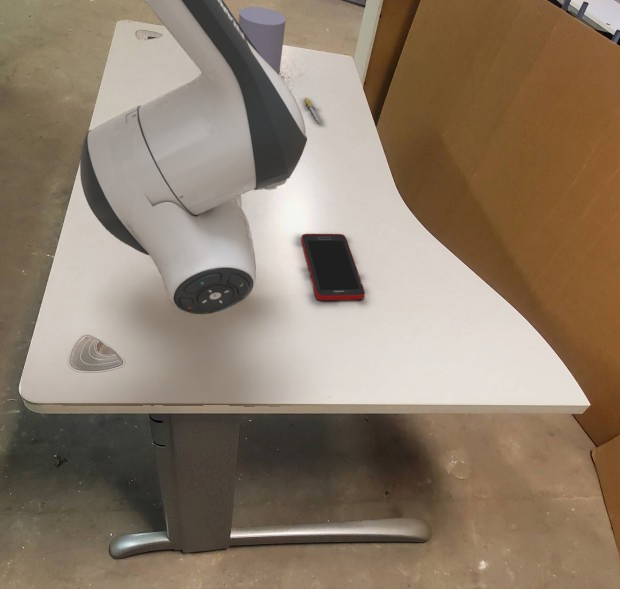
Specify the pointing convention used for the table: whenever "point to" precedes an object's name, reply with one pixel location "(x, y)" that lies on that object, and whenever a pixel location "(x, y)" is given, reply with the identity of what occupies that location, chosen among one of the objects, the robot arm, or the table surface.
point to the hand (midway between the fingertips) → (183, 121)
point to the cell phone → (332, 267)
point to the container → (264, 33)
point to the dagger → (311, 108)
